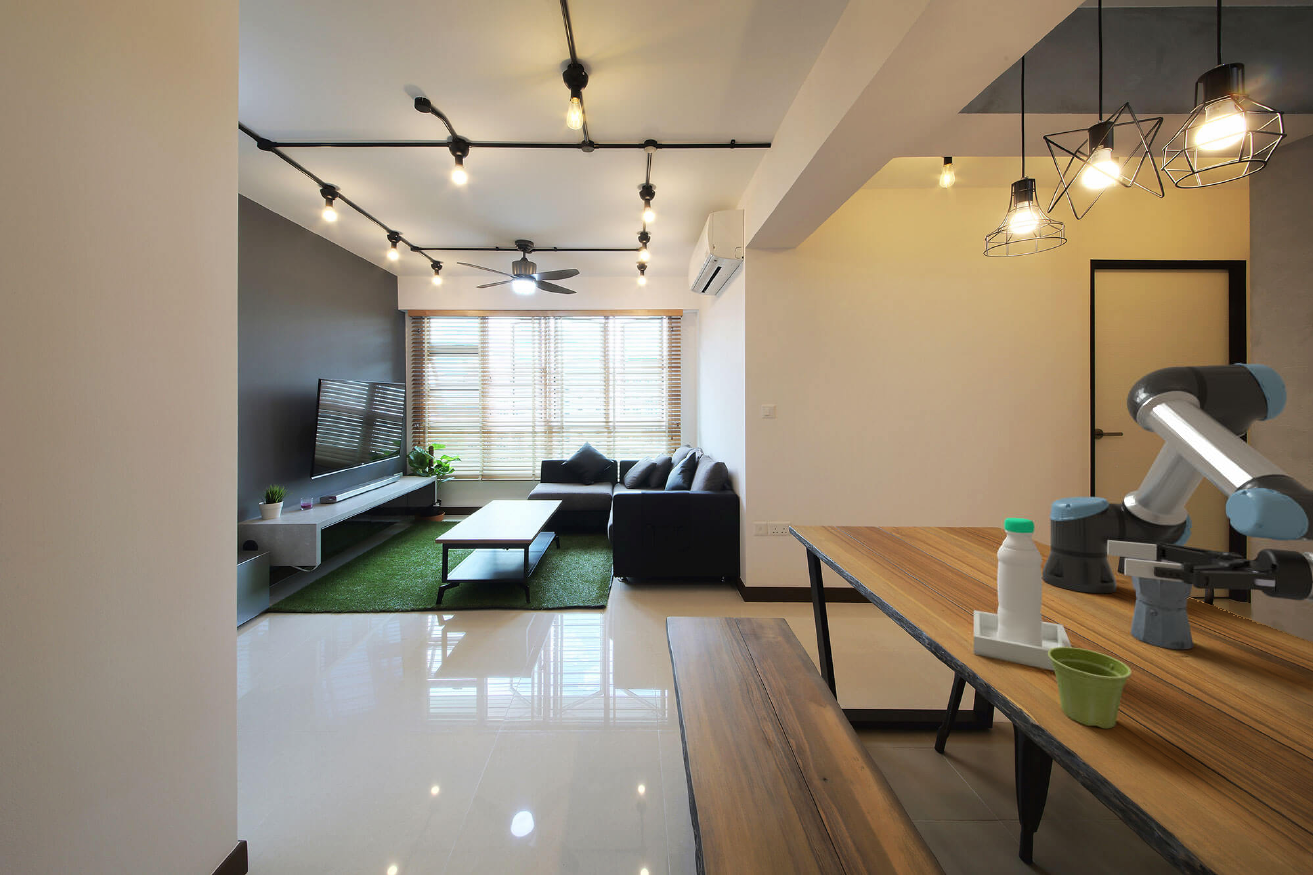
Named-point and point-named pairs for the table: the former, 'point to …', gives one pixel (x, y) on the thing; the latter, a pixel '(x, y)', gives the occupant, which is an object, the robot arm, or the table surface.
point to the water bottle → (1019, 585)
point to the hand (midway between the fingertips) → (1115, 556)
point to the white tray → (1013, 651)
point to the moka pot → (1161, 612)
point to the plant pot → (1089, 685)
